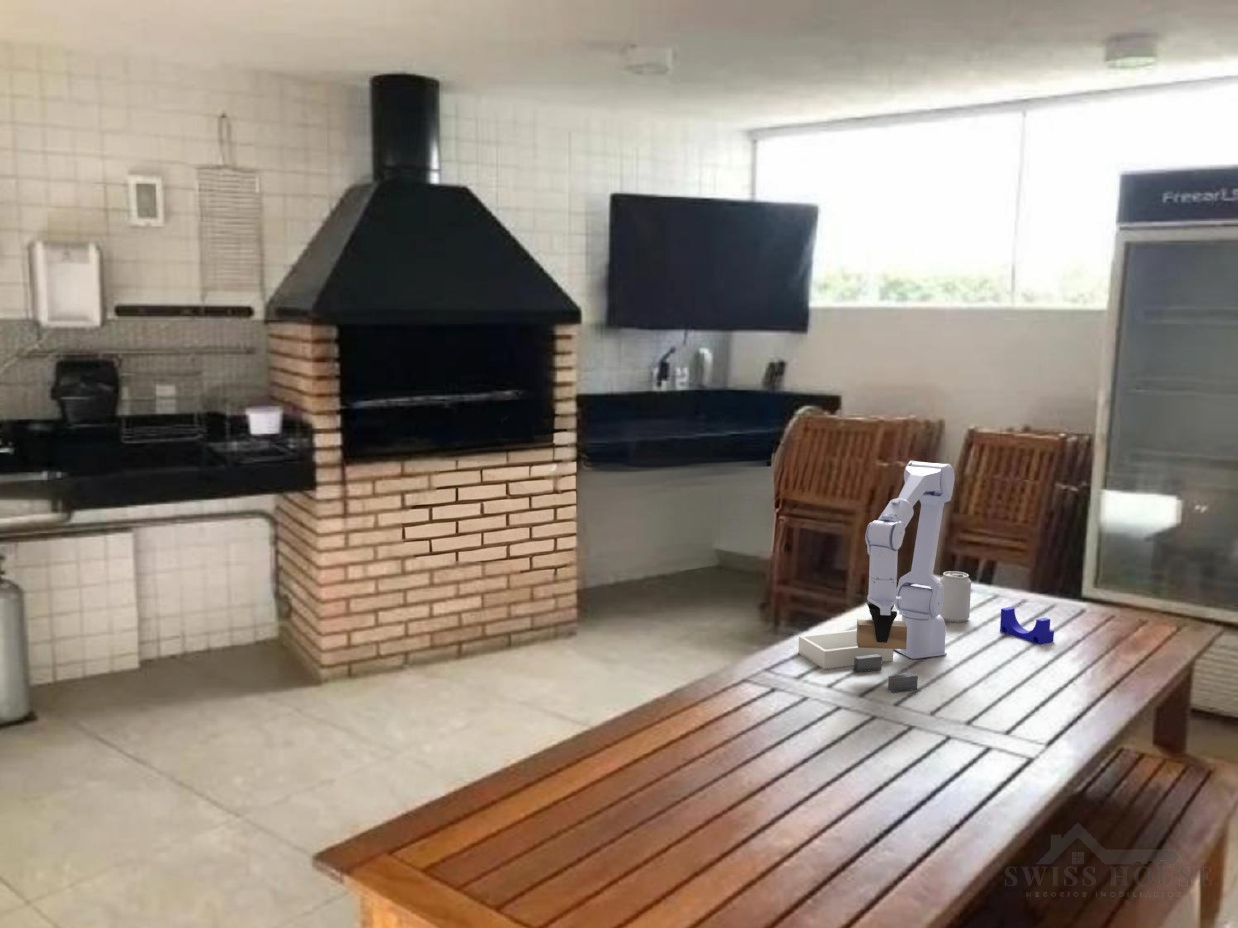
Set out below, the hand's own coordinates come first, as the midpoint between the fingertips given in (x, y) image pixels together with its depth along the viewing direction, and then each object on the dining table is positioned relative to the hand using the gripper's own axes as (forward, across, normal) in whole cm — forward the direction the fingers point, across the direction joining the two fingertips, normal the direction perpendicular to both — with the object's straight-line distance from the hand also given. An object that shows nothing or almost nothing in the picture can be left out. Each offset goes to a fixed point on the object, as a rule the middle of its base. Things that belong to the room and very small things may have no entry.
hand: (880, 638), depth 224 cm
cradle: (+8, -2, -1) cm, 9 cm away
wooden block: (+2, 0, 0) cm, 2 cm away
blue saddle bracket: (+9, +34, -38) cm, 52 cm away
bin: (+8, +12, +6) cm, 16 cm away
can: (+9, +47, -23) cm, 53 cm away
